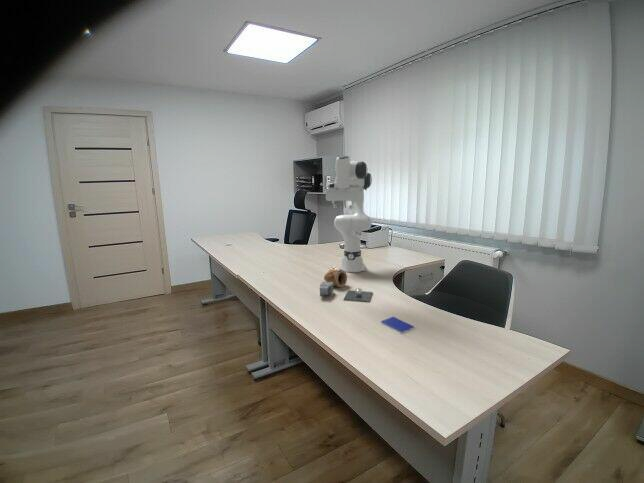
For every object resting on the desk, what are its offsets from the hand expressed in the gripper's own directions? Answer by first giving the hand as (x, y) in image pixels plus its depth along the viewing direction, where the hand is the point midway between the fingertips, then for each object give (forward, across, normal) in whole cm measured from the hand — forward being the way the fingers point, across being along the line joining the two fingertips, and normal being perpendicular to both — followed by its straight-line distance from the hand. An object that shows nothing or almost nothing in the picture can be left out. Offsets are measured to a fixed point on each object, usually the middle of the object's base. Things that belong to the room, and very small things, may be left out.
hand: (343, 208), depth 192 cm
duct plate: (+47, -12, +18) cm, 52 cm away
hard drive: (+48, -35, +49) cm, 77 cm away
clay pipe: (+47, +5, 0) cm, 47 cm away
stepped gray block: (+47, +6, +20) cm, 51 cm away
